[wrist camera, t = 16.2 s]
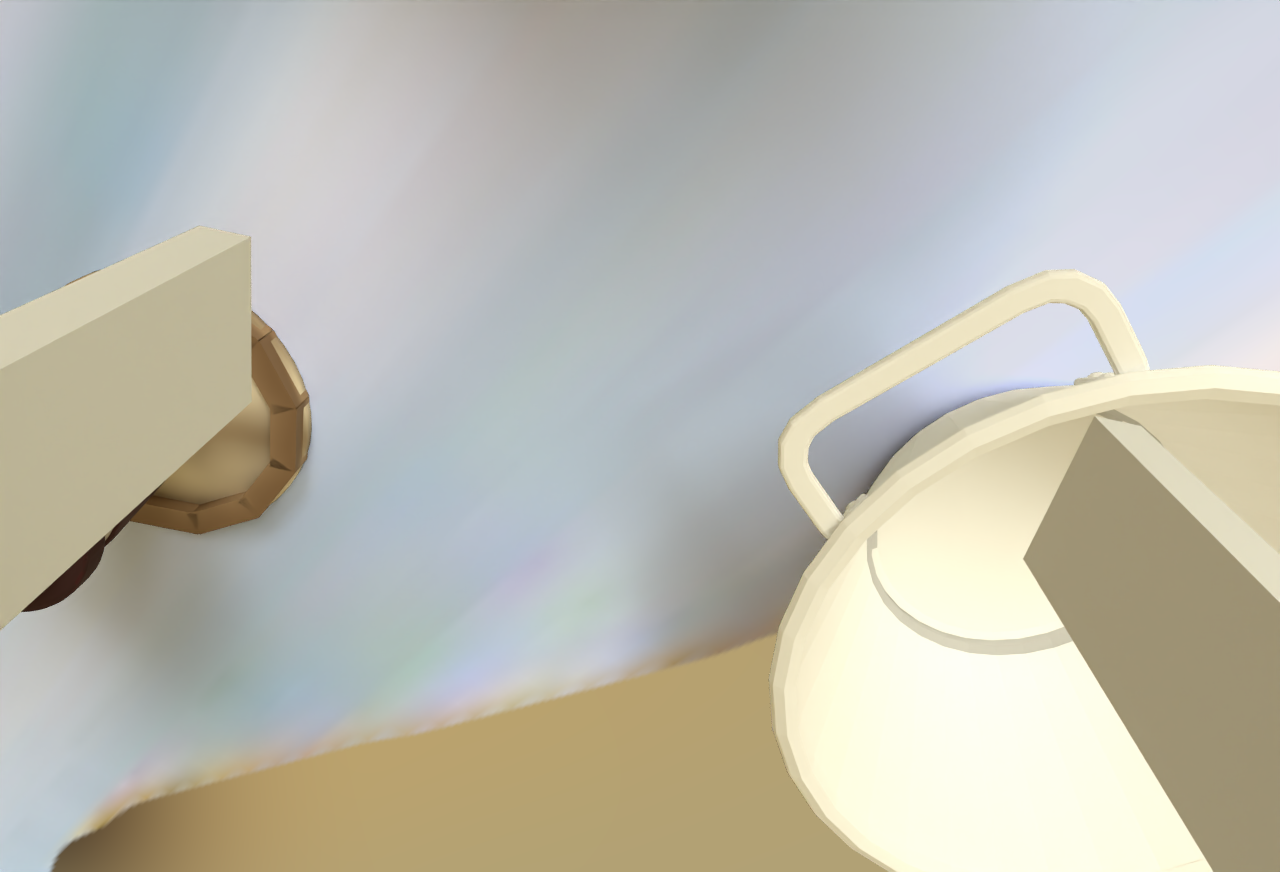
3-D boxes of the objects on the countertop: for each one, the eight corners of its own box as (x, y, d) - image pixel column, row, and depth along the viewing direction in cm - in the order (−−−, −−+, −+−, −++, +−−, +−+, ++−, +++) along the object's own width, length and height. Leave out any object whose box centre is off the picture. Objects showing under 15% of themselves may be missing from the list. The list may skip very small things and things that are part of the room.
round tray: (16, 236, 47) (-8, 244, 45) (315, 299, 47) (302, 309, 46) (49, 489, 54) (30, 504, 52) (307, 540, 55) (296, 556, 53)
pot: (608, 412, 50) (581, 551, 37) (1155, 68, 40) (1370, 97, 28) (926, 817, 63) (986, 1020, 51) (1389, 632, 54) (1605, 824, 41)
